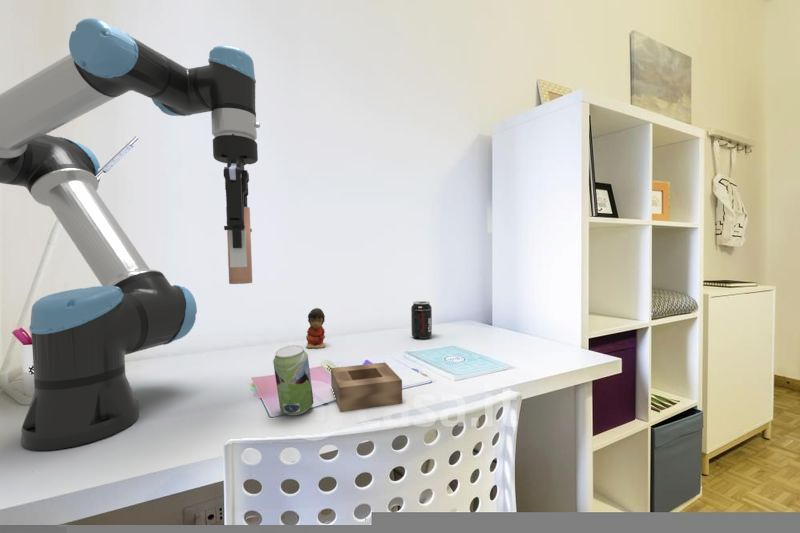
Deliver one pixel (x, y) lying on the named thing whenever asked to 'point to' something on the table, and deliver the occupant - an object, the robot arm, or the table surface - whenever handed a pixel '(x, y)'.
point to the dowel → (245, 273)
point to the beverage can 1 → (293, 380)
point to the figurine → (316, 329)
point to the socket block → (365, 386)
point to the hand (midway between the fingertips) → (240, 266)
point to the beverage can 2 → (421, 320)
